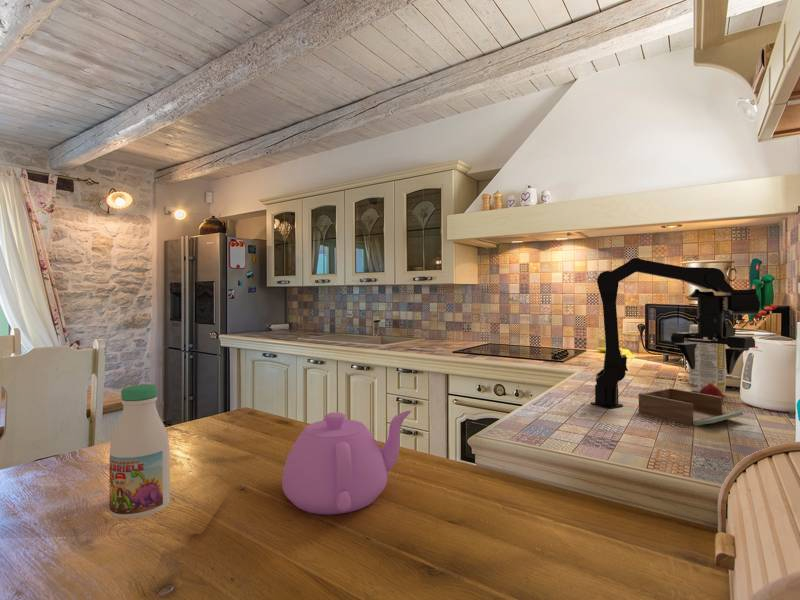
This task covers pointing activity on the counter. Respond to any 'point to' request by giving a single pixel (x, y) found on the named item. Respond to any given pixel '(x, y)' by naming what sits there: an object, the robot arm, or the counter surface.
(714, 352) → the juice carton
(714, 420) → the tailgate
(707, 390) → the onion
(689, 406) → the crate
